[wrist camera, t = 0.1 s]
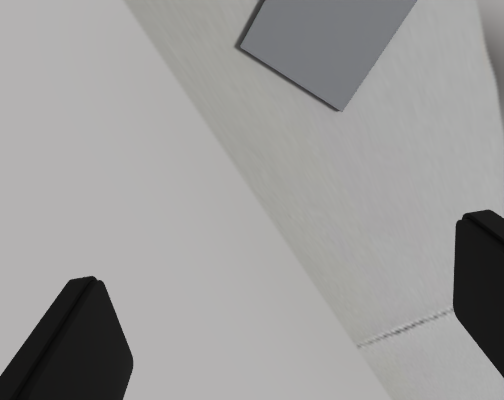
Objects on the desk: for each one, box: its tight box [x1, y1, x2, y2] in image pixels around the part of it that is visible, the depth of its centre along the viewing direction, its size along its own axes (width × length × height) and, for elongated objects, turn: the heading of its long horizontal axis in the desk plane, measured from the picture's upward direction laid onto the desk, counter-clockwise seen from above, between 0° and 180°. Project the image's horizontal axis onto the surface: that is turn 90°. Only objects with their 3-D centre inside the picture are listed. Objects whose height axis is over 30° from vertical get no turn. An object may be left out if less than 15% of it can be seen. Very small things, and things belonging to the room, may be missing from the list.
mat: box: [240, 0, 417, 112], centre depth 36 cm, size 12×12×1 cm
